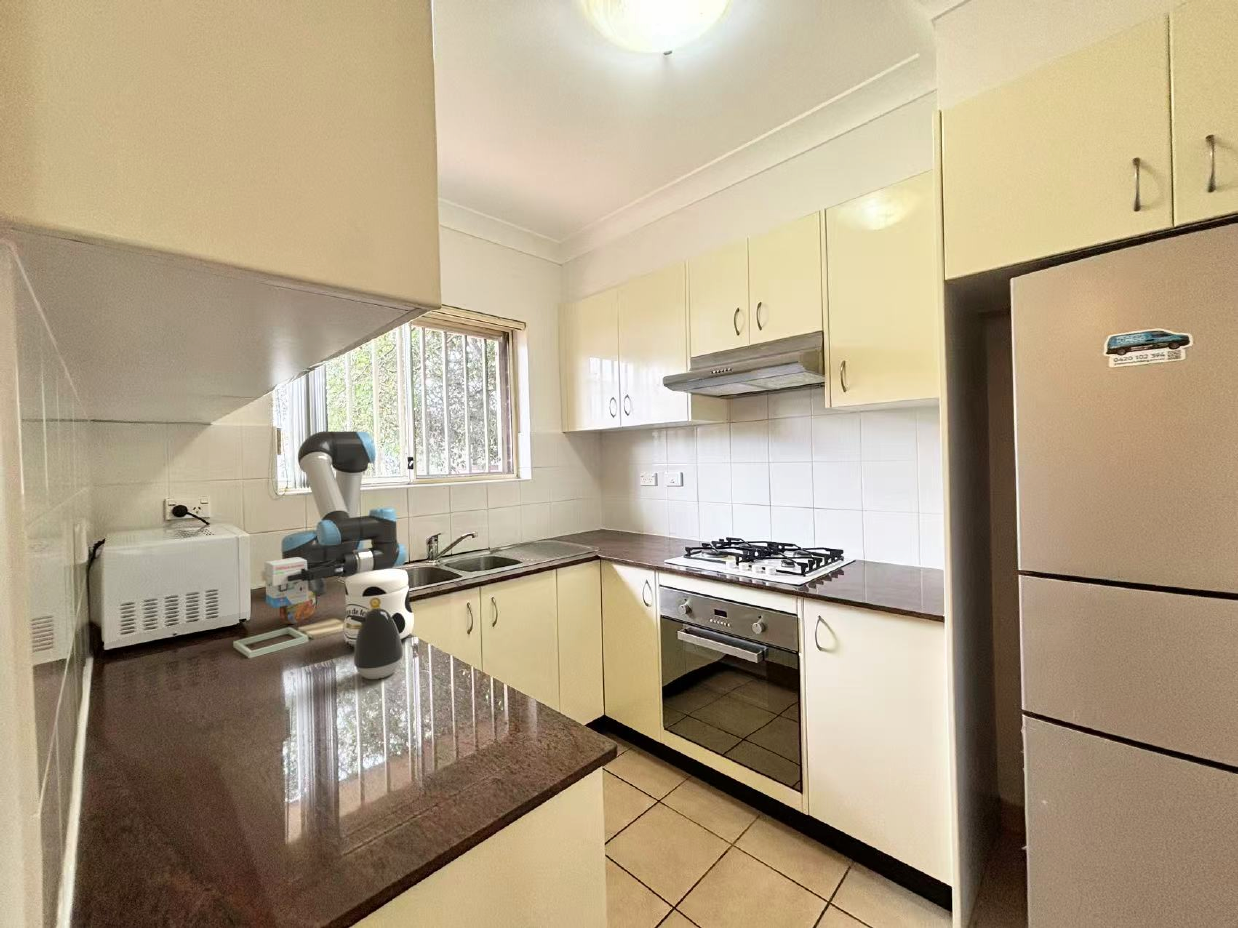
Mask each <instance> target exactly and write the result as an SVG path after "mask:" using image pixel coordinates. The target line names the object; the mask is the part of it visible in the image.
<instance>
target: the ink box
mask: <svg viewBox="0 0 1238 928" xmlns="http://www.w3.org/2000/svg"><path fill="white" fill-rule="evenodd" d="M301 569H305V570H307V560H305V559H302V558H301V557H294V558H287V559H282V558H280V559H274V560H269V561H264V571H265V581H264V582H265V597H266V598H265V602H266V604H268V605H269V606H271V607H272V608H274V609H275V608H280V607H281V606H286V605H291V604H296V603H301V602H306V601H309V598H308V581H307V580H305V581H302V579H301V581H297V582H292V583H287V584H281V585H276V586H272V575H278V574H284V573H289V572H295V571H300V573H301Z"/></svg>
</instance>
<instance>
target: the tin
mask: <svg viewBox="0 0 1238 928" xmlns="http://www.w3.org/2000/svg"><path fill="white" fill-rule="evenodd" d="M308 598H309V601H306V602H301V603H296V604H291V605H286V606H281V607H279V617H280V620H281V622H282V623H283V624H286V625H291V624H293V625H295V624H298V623H300V622H302V621H304V620H305V619H307V618H309V617H311V616H313V615H314V614H315V612H316V610H317V607H318V596H316V594H315V592H314V591H313V590H308Z"/></svg>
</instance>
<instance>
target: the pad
mask: <svg viewBox="0 0 1238 928" xmlns="http://www.w3.org/2000/svg"><path fill="white" fill-rule="evenodd" d="M343 625H344V621H342V620H339V619H337V618H335V617H333V618H329V619H326V620H322V621H317V622H314V623H310V624H306V625H302V626H298V627H297V631H299V632H301V633H303V634H305V635H307V636H308V638H311V639H313V640H317V639H319V638H323V637H327V636H330V635H334V634H337V633H341V632H343Z"/></svg>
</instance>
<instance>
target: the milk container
mask: <svg viewBox="0 0 1238 928" xmlns="http://www.w3.org/2000/svg"><path fill="white" fill-rule="evenodd" d="M344 591H345V595H344V600H345V607H346V608H345V617H344V620H343V622H344V625H343V631H342V632H343V638H344V641H345V643H346V644H347V645H348V646H350V647H352V648H354V649H355V642H356V638H357V634H358V631H359V628H360V626H361V623H360V622H357V621H354V620H351V616H352V615H357V616H363V617H365V616H366V614H367V613H368V612H369V611H371V610H373V609H376V608H381V609H384V610H386V611H387V612H388V613H389V614H390V615H391V617H392V619H393V620H394V622H395V624H396V627H397V629H398V632H399V635H400V638H401V642H402V641H404V640H405V639H406V638H408V637H409V636H411V634H412V632H413V630H414V626H415V625H414V624H415V622H414V621H415V619H414V618H415V616H414V612H413V609H412V607H411V603H410V587H409V575H408V572H407V571H406V569H405V570H403V569H398V568H395V569H393V568H389V569H383V570H376V571H369V572H364V573H359V574H355V575H353V576H348V577H346V578H345V583H344Z"/></svg>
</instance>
